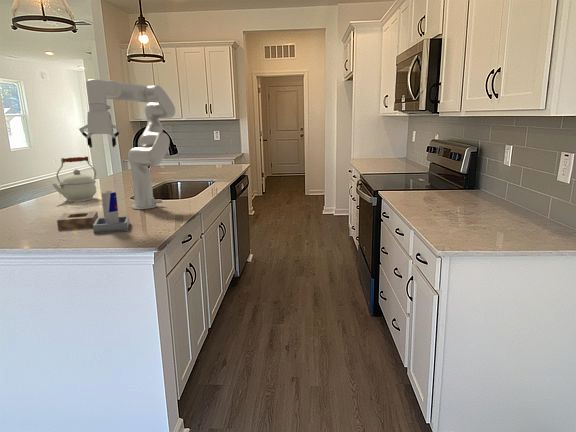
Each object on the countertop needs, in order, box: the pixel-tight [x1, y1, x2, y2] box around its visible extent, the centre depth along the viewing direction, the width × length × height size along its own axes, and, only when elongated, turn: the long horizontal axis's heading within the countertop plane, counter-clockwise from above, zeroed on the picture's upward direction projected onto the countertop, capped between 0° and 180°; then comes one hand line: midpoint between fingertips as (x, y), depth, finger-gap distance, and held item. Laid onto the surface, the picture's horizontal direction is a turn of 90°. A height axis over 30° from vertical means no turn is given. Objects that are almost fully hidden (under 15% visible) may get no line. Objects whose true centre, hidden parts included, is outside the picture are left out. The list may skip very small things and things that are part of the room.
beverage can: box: [101, 190, 120, 224], centre depth 170 cm, size 6×6×15 cm
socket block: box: [56, 210, 99, 230], centre depth 179 cm, size 14×14×4 cm
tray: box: [92, 215, 130, 234], centre depth 171 cm, size 13×13×4 cm
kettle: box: [51, 156, 97, 203], centre depth 233 cm, size 25×18×25 cm
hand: (102, 147), depth 184 cm, fingers open, 9 cm apart
